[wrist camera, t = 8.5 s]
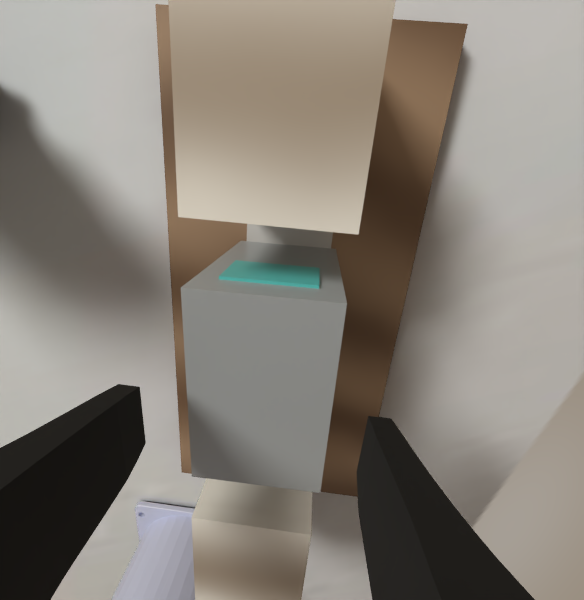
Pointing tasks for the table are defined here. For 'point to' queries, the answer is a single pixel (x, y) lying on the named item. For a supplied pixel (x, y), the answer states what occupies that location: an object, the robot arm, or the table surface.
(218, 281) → the block
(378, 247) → the board
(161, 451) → the table surface
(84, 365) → the table surface
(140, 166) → the table surface
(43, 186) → the table surface
